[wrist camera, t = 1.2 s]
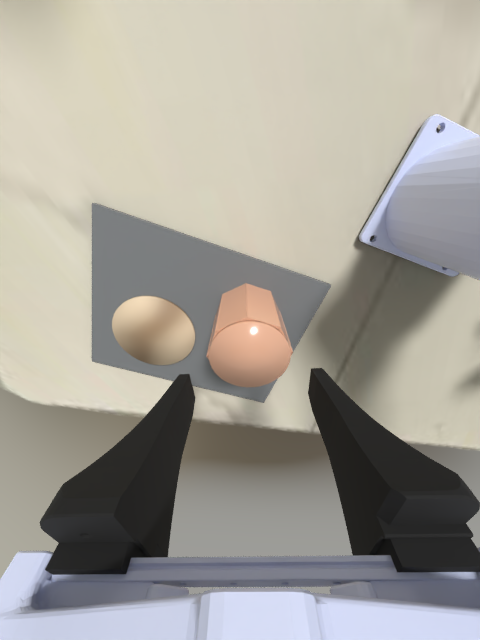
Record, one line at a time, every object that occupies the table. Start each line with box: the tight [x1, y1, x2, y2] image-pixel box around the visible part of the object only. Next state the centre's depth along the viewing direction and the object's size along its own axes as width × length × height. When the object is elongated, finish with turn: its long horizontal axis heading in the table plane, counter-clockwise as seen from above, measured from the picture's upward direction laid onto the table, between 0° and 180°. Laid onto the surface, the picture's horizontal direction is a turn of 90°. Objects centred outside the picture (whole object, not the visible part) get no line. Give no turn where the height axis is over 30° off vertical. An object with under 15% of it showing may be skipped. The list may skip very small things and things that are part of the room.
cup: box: [207, 283, 293, 387], centre depth 18 cm, size 6×6×6 cm
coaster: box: [112, 296, 195, 365], centre depth 22 cm, size 8×8×1 cm
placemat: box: [92, 203, 331, 403], centre depth 22 cm, size 20×16×1 cm
